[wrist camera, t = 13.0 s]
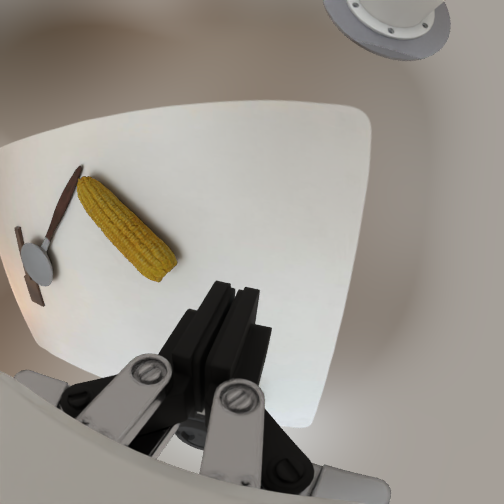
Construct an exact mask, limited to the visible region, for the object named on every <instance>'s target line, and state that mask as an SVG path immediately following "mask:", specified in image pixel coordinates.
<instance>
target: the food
mask: <svg viewBox="0 0 504 504" xmlns="http://www.w3.org/2000/svg"><path fill="white" fill-rule="evenodd" d="M77 192H78V198H79V200H80V201H81V203H82V205H83V207H84V209H85V210H86V212H87V213H88V215H89V216H90V217H91V218H92V220H94V222H95V223H96V225H97V226H98V227H100V228H101V231H103V233H104V234H105V235H106V237H107V238H108V239H109V240H110V242H112V244H113V245H114V246H116V248H117V249H118V250H119V251H120V252H121V253H122V254H123V255H124V257H126V258H127V259H128V260H129V262H131V263H132V264H133V266H135V268H137V271H139V272H140V273H141V274H142V275H143V276H145V277H147V278H148V279H150V280H152V281H156V282H160V281H161V280H162V278H163V277H164V276H165V275H166V274H167V273H168V272H170V271H171V269H173V267H174V266H176V265H177V260H176V258H175V255H174V253H173V252H172V251H171V249H169V246H167V245H166V244H165V242H163V241H162V240H161V239H160V238H159V237H157V236H156V235H155V234H154V233H153V232H152V231H151V230H150V228H148V227H147V226H146V225H145V224H144V223H143V222H142V221H141V220H140V219H139V218H138V217H137V216H136V215H135V214H134V213H133V212H131V211H130V209H128V208H127V207H126V206H125V205H124V204H122V203H121V201H120V200H119V199H118V198H117V197H116V196H115V195H114V194H113V193H112V192H111V191H110V190H108V189H107V188H106V187H105V186H104V185H103V184H102V183H100V182H99V181H97V180H96V179H93V178H92V177H89V176H88V177H86V176H83V177H81V179H80V178H79V179H78V183H77Z"/></svg>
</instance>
